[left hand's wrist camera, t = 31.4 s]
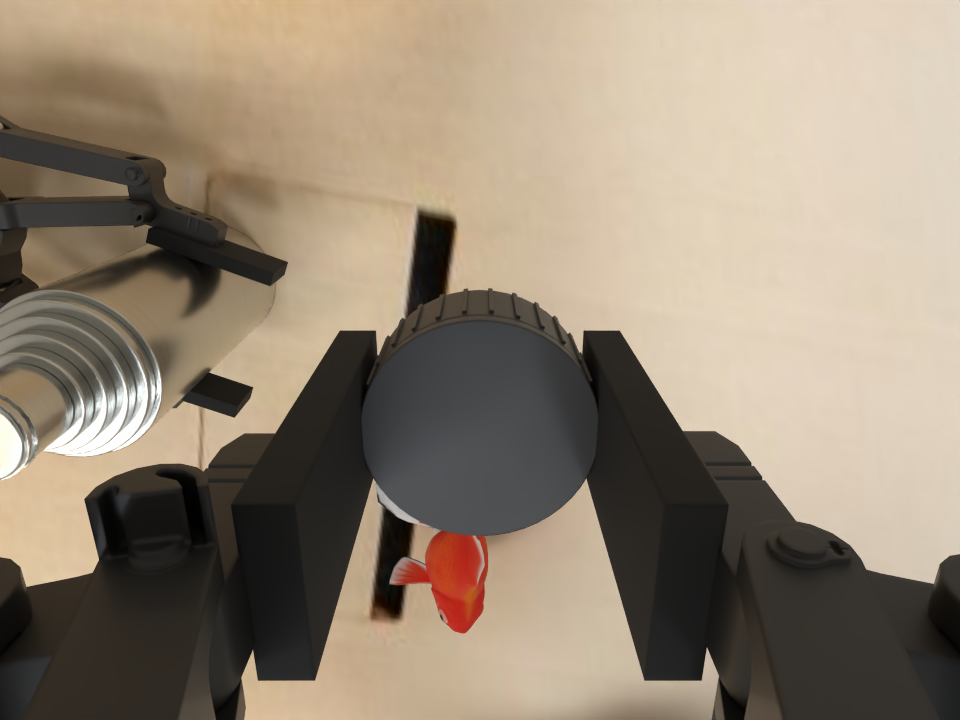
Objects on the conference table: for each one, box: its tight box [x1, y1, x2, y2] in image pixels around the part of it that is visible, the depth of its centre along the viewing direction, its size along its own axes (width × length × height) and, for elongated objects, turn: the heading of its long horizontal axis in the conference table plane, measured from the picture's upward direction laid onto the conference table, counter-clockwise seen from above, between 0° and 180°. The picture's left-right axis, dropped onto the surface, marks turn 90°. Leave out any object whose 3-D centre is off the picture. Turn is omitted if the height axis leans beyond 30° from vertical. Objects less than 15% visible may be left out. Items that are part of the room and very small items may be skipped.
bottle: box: [0, 227, 275, 480], centre depth 32 cm, size 7×7×22 cm
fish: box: [376, 483, 488, 633], centre depth 44 cm, size 11×16×10 cm
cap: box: [361, 288, 599, 536], centre depth 13 cm, size 5×5×2 cm
